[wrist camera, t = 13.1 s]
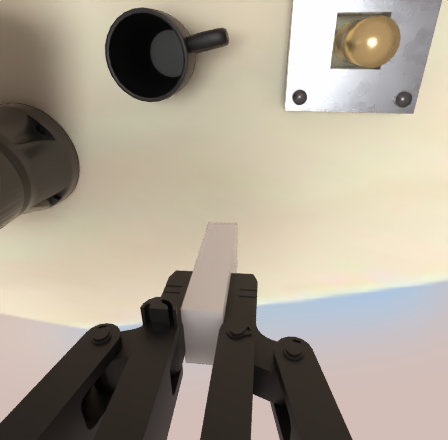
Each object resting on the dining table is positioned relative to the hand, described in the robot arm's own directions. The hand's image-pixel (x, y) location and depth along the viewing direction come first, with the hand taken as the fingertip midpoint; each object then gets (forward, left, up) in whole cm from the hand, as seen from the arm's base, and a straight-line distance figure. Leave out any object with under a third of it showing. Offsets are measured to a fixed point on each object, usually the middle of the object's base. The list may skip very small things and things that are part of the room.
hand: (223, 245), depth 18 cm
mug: (-8, +9, -29) cm, 32 cm away
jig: (+11, +10, -29) cm, 32 cm away
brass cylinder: (+11, +9, -29) cm, 33 cm away
